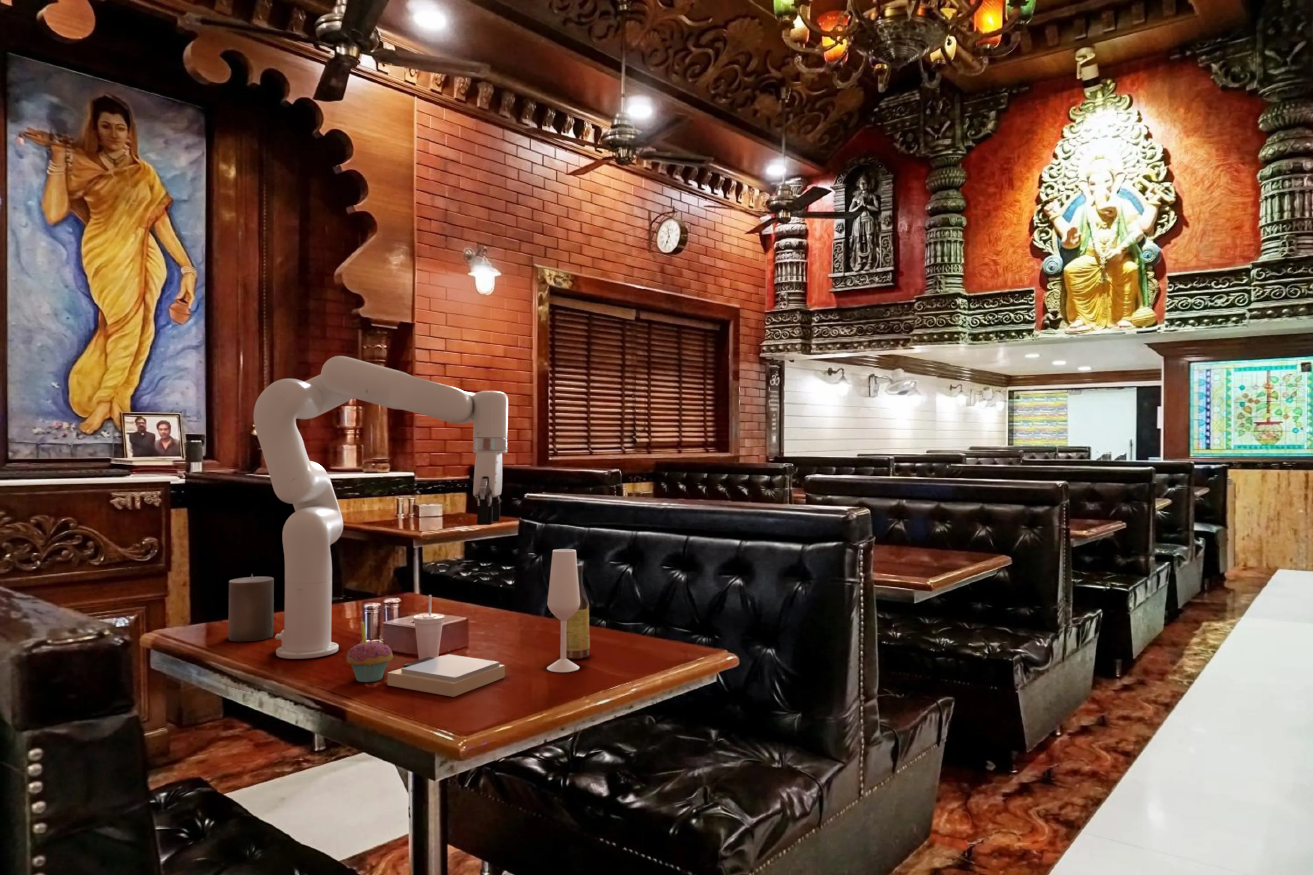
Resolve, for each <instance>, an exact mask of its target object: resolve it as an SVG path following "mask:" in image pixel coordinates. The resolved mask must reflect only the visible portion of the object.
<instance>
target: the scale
mask: <svg viewBox="0 0 1313 875" xmlns="http://www.w3.org/2000/svg"><path fill="white" fill-rule="evenodd" d="M505 677H506V665H505V664H501V663H500V661H495V660H490V659H483V658H476V657H470V656H462V655H456V654H449V653H448V654H445V655H440V656H439V655H438V657H436V658H432V657H428V658H424V659H421V660H419V659H418V660H414V661H412V662H408V663H406V664H403V667H401V668H398V669H395V670H391V671H388V672H387V684H386V686H390V687H396V688H401V689H406V690H412V691H417V692H423V693H428V694H436V695H441V696H446V697H451V698H454V697H457V696H461V695H462V694H465V693H468V692H471V691H473V690H475V689H478V688H480V687H483V686H486V685H488V684H491V683H493V682H497V681H499V680H501V679H504V678H505Z"/></svg>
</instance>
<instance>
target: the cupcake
mask: <svg viewBox="0 0 1313 875" xmlns="http://www.w3.org/2000/svg"><path fill="white" fill-rule="evenodd" d="M365 627H366V626H365V622H364V621H363V618H361V617H360V631H361V639H362V642H360V643H358V644H355V645H353V646H352V647H351V648H349V650H348V651H347V653H346V663H347V664H348V665H351V668H352V670H353V673H354V676H355V679H356V681H357V682H360V683H372V682H377V681H380V680H382V679H383V676H384V674H385V670H386V668H387V665H388V663H389V662H391V661H393V660H394V659H393V658H394V656H393V650H392V648H391V647H390V646H389V645H388V644H386V643H384V642H381V641H379V640H378V641H377V640H376V641H374V640H372V641H371V640H369V641H367V636H366V628H365Z"/></svg>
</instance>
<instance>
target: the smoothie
mask: <svg viewBox="0 0 1313 875" xmlns="http://www.w3.org/2000/svg"><path fill="white" fill-rule="evenodd" d="M432 599H433V598H432V594H428V613H421V614H417V615H414V616H413V617H412V618H413V619H412V622H413V623H414V629H415V639H416V646H417V648H416V649H417V656H418V660H421V659H424V658H428V657H432V658H436V657H439V653H440V647H441V646H440V645H441V638H442V632H443V624H444V621H445V615H444V614H443V613H432V602H433V600H432Z"/></svg>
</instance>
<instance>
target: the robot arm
mask: <svg viewBox="0 0 1313 875" xmlns="http://www.w3.org/2000/svg"><path fill="white" fill-rule="evenodd" d="M354 399H355V400H359V401H362V402H367V403H369V404H373V405H378V406H380V407H385V408H389V409H392V410H403V411H408V412H411V413H414V414H419V415H423V416H426V417H430V418H434V419H437V420H440V421H444V422H448V423H451V424H456V425H457V424H458V425H460V424H462V425H463V424H469V423H473V427H472V428H473V430H472V431H473V432H472V433H473V434H472V453H473V454H474V453H475V461H474V470H473V471H474V473H473V488H472V489H473V490H472V496H474V497H475V498H477V508H476V525H478V526H491V525H492V524H493V522H500V520H501V498H500V496H501V495H502V491H503V490H502V489H503V462H504V461H503V454H508V427H509V426H508V424H509V422H508V421H509V417H508V416H509V397H508V395H507V393H505V392H502V391H497V390H481V391H477V392H468V391H464V390H462V389H460V388H458V387H454V386H450V385H447V384H443V383H440V382H439V383H438V382H435V381H431V380H428V379H424V378H421V377H417V376H414V375H411V374H408V373H407V372H404V371H401V370H397V369H393V368H390V367H385V366H382V365H379V364H375V363H371V362H367V361H364V360H360V359H357V358H354V357H349V356H344V355H335V356H332V357H331V358H330V357H329V359H327V360H326V361H325V362H324V364H323V365H322V367H321V372H320V374H318V375H316V376H314V377H311V378H309V379H307V380H305V381H303V380H301V379H297V378H281V379H278V380H275V381H273V382H272V383H271V384H269V385H268V386H266V387H265V388H264V390H263V391H262V392H261V393H260V394H259V396H258V398H257V399H256V401H255V405H254V408H253V426H254V429H255V433H256V437H257V440H258V442H259V446H260V449H261V452H262V456H263V460H264V462H265V465H266V469H267V473H268V475H269V479H270V482H271V485H272V488H273V492H274V494H275V495H276V497H277V498H278V499H279V500H280V501H281V502H283V503H286V504H292V506H293V508H294V512H293V513H292V514H291V515H289V517H288V518H287V519H286V520H285V523H284V525H283V528H282V538H281V539H282V548H283V555H284V556H283V557H284V615H283V616H284V618H283V619H284V621H283V629H282V630H281V631H280V633H276V634H275V636H274V638H275V640H276V641H281V646H279V647H277V648H276V649H275V655H276V657H278V658H282V659H287V660H288V659H289V660H305V659H307V660H308V659H315V658H321V657H327V656H330V655H333V654H336V653H337V652H338V651H339V644H338V643H336V642H333V641H332V610H333V608H332V602H333V563H332V562H333V560H332V552H331V545H332V544H334V543H336V542H337V541H338V540H339V538H341V535H342V534H343V530H344V518H343V515H342V511H341V508H340V505H339V502H338V499H337V496H336V493H335V490H334V487H333V484H332V480H331V478H330V475H328V472H327V471H326V469H325V468H324V467H323V466H322V464H321V465H320V464H319V463H318V462H315V461H313V460H310V458H309V456H308V453H307V450H306V447H305V446H306V445H305V443H304V442H305V441H304V440H303V437H302V434H301V433H300V431H299V429H298V426H297V419H299V420H310V419H314V418H317V417H320V416H321V415H323V414H325V413H327V412H329V411H332V410H334V409H335V408H337V407H339V406H341V405H343V404H346V403H348V402H350V401H352V400H354Z"/></svg>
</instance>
